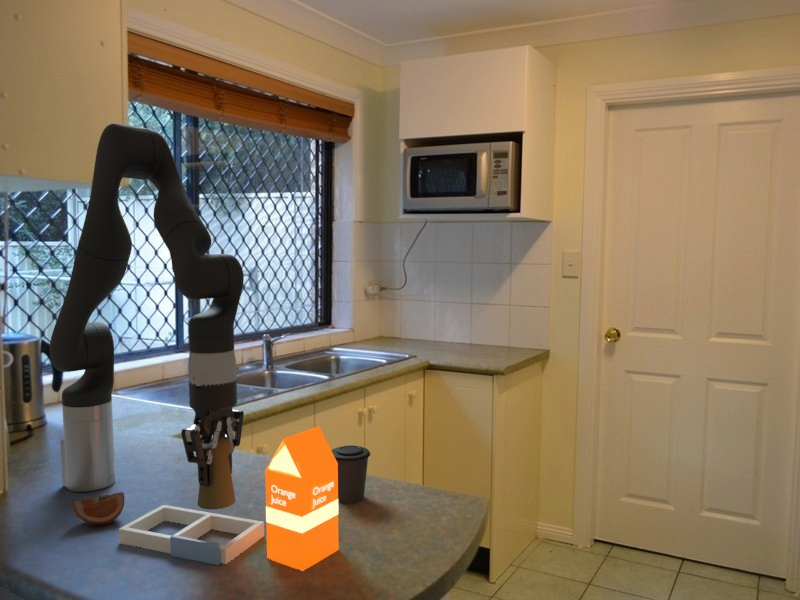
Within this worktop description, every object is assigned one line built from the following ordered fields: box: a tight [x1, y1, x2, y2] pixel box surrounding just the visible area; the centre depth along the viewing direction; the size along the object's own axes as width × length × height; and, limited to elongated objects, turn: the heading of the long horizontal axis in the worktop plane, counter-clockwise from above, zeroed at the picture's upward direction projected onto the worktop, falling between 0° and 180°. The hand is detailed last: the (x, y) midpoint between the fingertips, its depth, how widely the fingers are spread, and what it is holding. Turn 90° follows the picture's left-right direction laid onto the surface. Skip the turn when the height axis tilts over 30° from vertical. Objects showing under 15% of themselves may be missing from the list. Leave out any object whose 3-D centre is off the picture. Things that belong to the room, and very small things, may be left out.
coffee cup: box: [331, 445, 371, 505], centre depth 134 cm, size 8×8×10 cm
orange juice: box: [264, 425, 340, 572], centre depth 110 cm, size 8×9×20 cm
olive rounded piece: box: [197, 437, 236, 511], centre depth 114 cm, size 6×6×11 cm
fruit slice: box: [72, 491, 125, 526], centre depth 124 cm, size 8×7×5 cm
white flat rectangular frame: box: [118, 504, 265, 566], centre depth 116 cm, size 21×12×3 cm, turn 69°
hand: (215, 479), depth 114 cm, fingers closed on olive rounded piece, 4 cm apart
